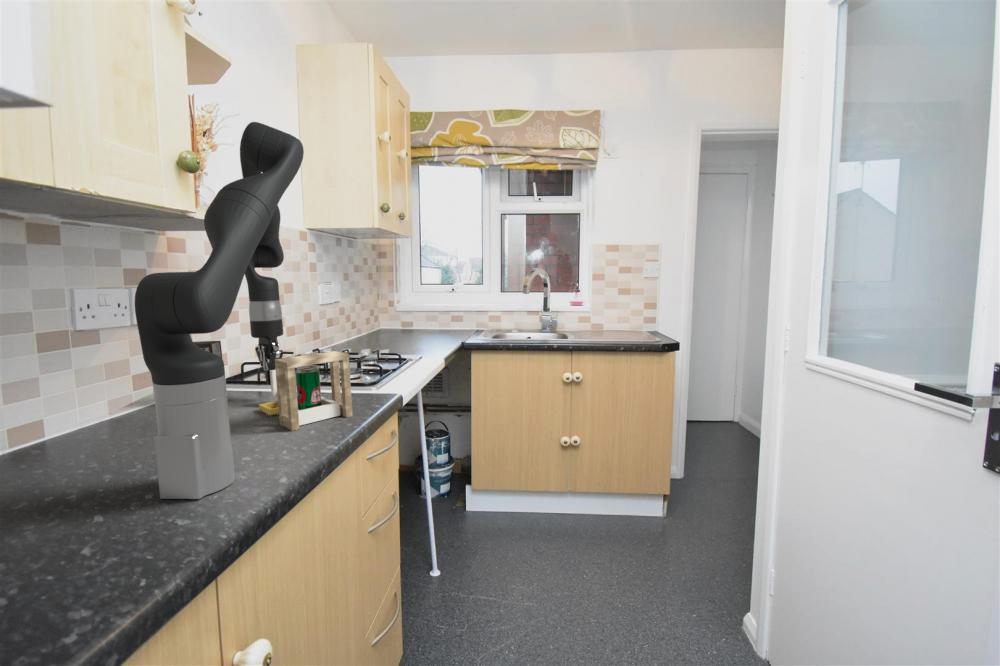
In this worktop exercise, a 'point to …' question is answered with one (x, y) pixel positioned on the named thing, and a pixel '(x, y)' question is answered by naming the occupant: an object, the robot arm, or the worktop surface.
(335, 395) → the tunnel
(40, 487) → the worktop surface
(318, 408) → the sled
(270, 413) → the yellow rectangular frame
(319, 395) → the soda can
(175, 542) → the worktop surface
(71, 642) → the worktop surface
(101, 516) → the worktop surface
